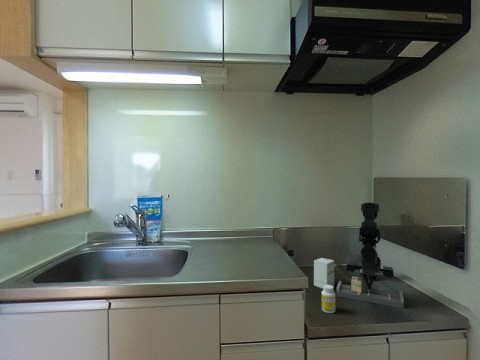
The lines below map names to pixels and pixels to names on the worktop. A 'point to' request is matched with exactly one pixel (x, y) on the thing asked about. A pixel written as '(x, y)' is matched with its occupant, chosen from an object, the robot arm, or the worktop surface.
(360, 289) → the fader knob
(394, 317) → the worktop surface
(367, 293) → the fader console
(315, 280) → the supplement box
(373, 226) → the robot arm
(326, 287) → the supplement bottle
